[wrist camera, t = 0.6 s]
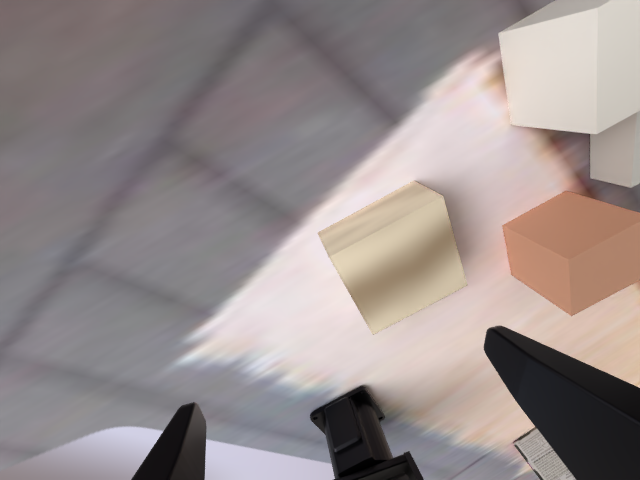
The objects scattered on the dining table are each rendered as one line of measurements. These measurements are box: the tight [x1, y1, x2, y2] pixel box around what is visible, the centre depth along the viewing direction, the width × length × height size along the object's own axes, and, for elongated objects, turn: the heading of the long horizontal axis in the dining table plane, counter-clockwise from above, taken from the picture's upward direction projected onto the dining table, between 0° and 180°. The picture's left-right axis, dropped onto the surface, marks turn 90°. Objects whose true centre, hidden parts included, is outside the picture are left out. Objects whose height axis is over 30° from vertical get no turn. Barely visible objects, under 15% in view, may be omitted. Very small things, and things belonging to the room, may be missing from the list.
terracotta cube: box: [502, 191, 640, 316], centre depth 24 cm, size 6×6×6 cm
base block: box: [318, 181, 467, 335], centre depth 22 cm, size 8×8×4 cm
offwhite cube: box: [498, 0, 640, 134], centre depth 17 cm, size 6×6×6 cm
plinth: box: [590, 111, 640, 188], centre depth 21 cm, size 8×2×3 cm, turn 27°
